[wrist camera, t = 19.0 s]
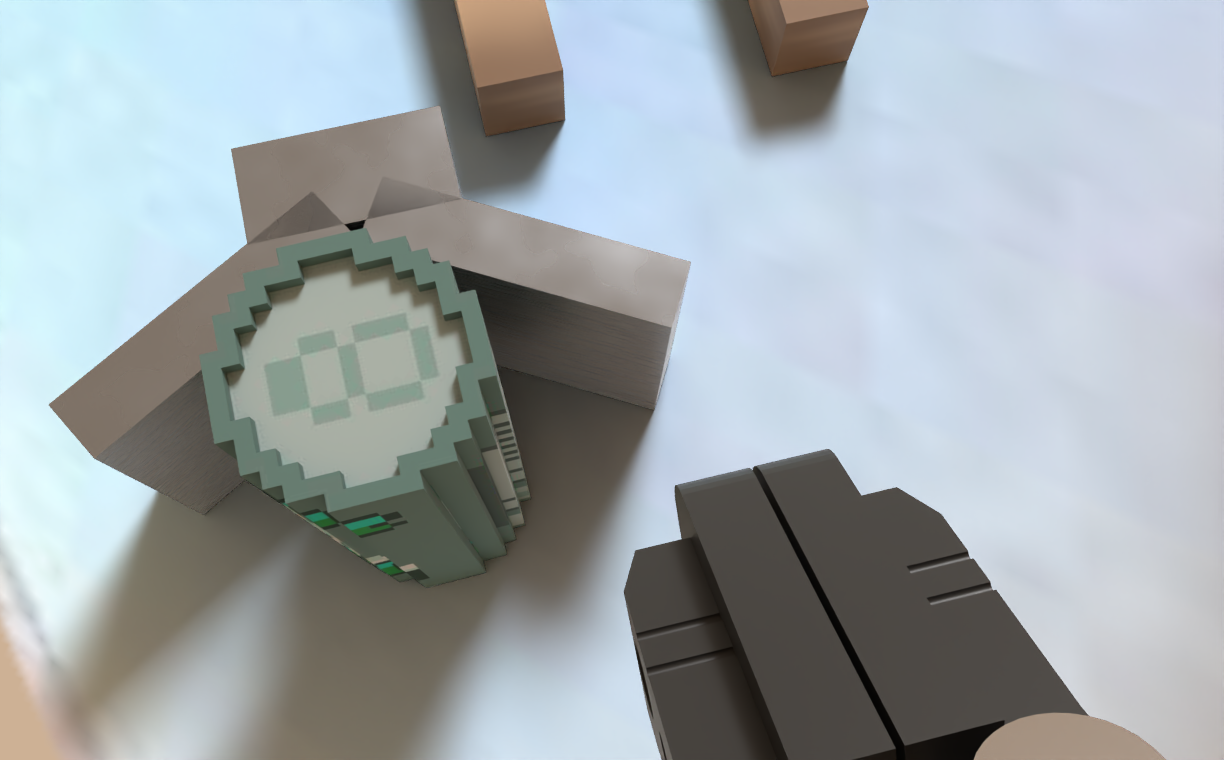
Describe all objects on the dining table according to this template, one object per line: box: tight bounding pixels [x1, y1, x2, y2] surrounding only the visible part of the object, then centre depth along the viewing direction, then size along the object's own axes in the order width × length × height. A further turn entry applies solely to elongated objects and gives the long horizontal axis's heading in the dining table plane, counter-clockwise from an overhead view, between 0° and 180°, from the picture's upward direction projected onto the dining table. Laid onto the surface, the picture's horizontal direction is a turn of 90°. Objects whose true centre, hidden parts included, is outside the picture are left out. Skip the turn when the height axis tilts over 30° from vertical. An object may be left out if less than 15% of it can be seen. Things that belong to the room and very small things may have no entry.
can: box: [199, 228, 531, 588], centre depth 32 cm, size 6×6×15 cm
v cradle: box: [49, 106, 691, 515], centre depth 37 cm, size 8×18×9 cm, turn 104°
